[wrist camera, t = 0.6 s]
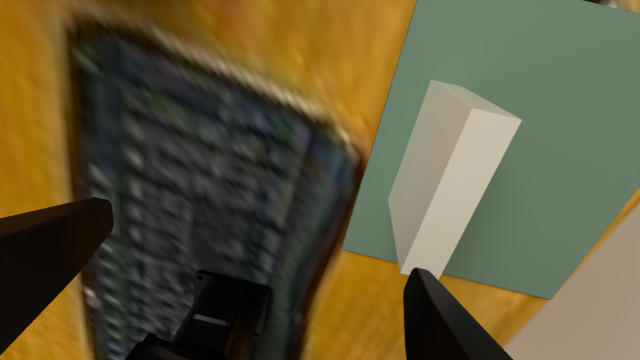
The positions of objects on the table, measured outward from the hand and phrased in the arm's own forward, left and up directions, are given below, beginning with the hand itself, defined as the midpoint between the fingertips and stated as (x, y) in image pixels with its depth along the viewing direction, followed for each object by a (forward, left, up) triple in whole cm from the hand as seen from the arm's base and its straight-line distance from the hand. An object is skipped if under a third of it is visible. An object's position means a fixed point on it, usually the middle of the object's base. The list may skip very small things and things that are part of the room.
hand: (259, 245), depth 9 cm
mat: (0, -12, -12) cm, 17 cm away
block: (0, -7, -12) cm, 13 cm away
